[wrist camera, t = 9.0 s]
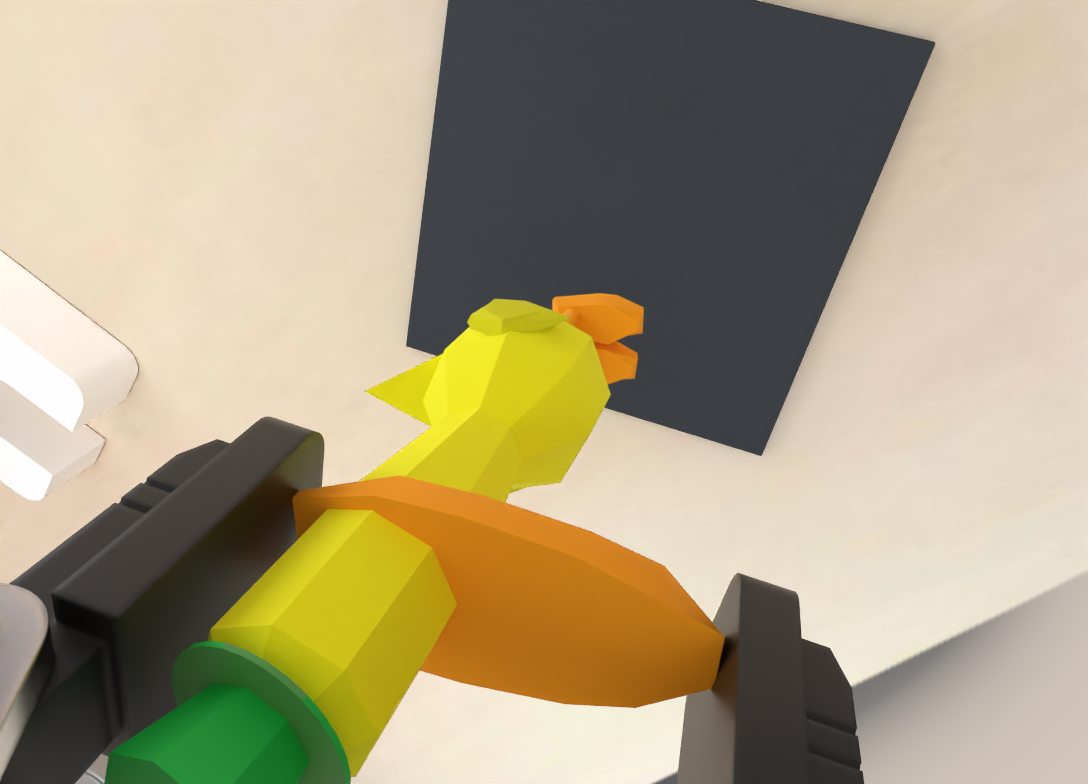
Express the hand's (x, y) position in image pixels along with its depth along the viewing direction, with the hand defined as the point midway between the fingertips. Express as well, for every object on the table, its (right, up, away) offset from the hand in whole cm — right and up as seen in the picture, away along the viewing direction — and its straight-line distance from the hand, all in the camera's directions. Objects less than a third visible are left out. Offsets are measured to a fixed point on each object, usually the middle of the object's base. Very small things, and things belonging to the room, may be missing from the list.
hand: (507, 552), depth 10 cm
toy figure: (+2, +3, +7) cm, 8 cm away
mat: (+4, +9, +19) cm, 21 cm away
